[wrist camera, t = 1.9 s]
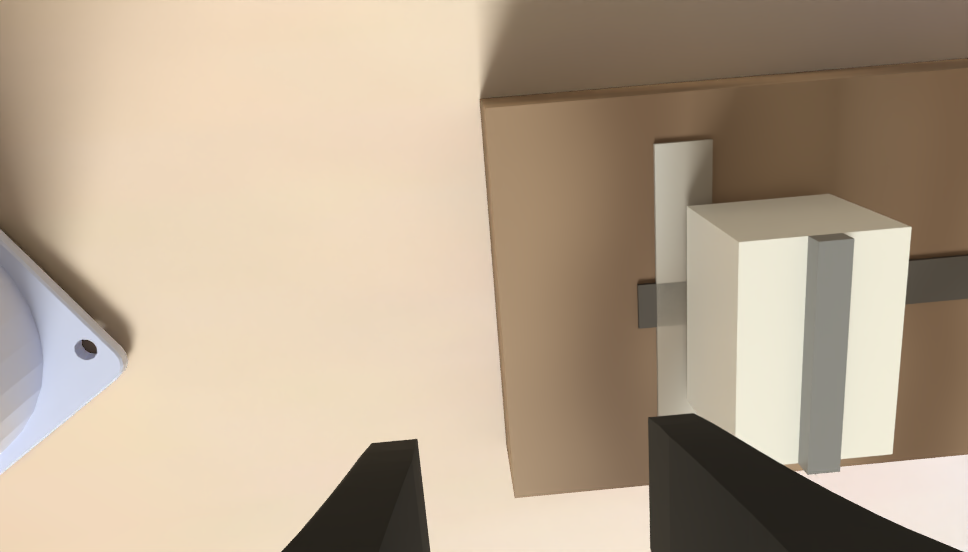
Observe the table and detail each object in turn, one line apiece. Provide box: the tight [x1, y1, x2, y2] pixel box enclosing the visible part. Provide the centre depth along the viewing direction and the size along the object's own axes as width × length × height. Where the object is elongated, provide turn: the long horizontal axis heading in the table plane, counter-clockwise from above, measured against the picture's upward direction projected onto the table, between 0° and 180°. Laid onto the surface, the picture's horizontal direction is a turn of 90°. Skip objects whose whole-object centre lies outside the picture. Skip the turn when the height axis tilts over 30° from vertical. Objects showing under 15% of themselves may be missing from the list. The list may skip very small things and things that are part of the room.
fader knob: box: [687, 194, 912, 475], centre depth 15 cm, size 3×4×3 cm
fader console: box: [480, 58, 968, 498], centre depth 18 cm, size 18×9×3 cm, turn 94°
